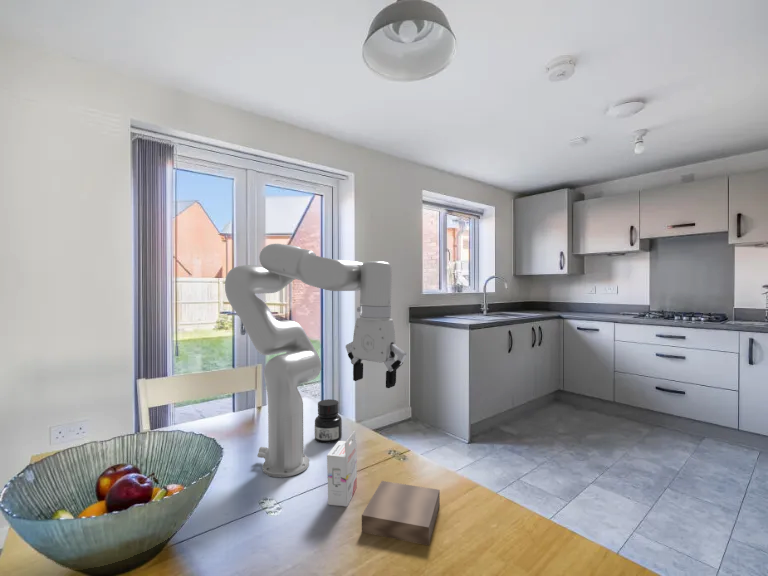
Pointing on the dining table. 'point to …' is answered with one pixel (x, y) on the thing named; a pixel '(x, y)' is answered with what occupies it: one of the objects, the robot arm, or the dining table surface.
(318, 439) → the ink bottle
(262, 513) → the dining table surface
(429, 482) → the dining table surface
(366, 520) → the walnut block
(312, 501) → the dining table surface
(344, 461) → the ink cartridge box
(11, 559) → the dining table surface
